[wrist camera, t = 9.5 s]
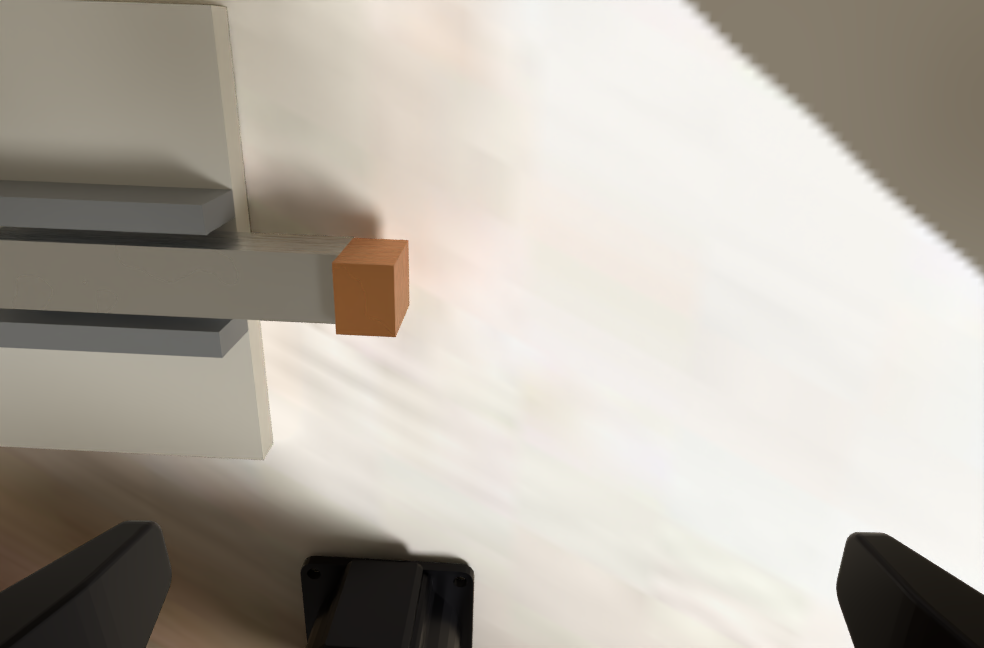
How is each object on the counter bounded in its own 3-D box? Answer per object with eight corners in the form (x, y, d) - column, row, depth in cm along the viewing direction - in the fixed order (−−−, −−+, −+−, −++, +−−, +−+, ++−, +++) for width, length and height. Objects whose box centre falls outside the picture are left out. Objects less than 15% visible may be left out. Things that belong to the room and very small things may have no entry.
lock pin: (410, 303, 20) (395, 337, 18) (32, 286, 21) (-30, 317, 18) (408, 239, 20) (394, 265, 17) (16, 222, 20) (-50, 245, 18)
